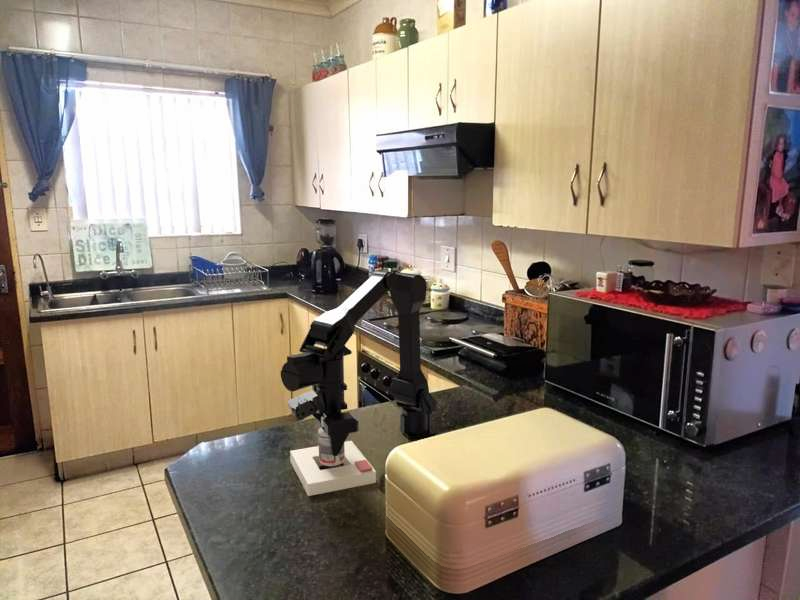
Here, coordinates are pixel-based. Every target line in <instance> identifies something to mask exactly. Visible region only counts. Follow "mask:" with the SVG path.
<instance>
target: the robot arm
mask: <svg viewBox="0 0 800 600" xmlns="http://www.w3.org/2000/svg"><path fill="white" fill-rule="evenodd" d="M427 287H428V286H427V281H426V278H425V277H424V276H423V275H421V274H416V273H408V272H407V273H406V272H396V273H394V272H393V271H390V270H383V269H382V270H381V269H377V270H375V271H372V273H371V274H370V277H369V278H368V279H367V280H366V281H365V282H363V284H362V285H360V286H359V287H358V288H357V289H356V290H355V291H354V292H353V293H352V294H351V295H350V296H349V297H347V299H345V300H344V302H342V304H340V305H339V306H338V307H335V308H334V309H331V310H328V311H325V312H323V313H322V314H321V315H319V316H318V317H316V318H315V319H314V320H313V321H312V322H311V323H310V325H309V330H308V333H307V334H306V336H305V338H304V340H303V342H302V344H301V346H300V348H299V352H300V353H299V354H290V355H287V357H286V362H285V363H283V365H282V367H281V371H280V378H281V382H282V384H283V386H284V387H285V389H286V390H287V391H289V392H296V391H299V390H303V389H307V388H309V387H312V389H311V390H308V391H306V392H303V393H301V394H299V395H296V396H295V397H292V398H290V399H289V400H288V401H287V404H288V407H289V409H290V411H291V413H292V415H293V416H294V419H295V420H296V422H300V421H303V420H305V419H306V418H309V417H310V416H312V417H314V418H315V419H316V420H317V421H318V423H319V428H320V427H321V426H322V425H321V417H322V416H324V415H325V417H326V418H325V419H324V420H323V426H324V427H321V428H322V429H323V431H324V432H325V433H326V434H327V435H328V436H329V439H330V444H331V449H332V454H333V456H338V455H339V453H340V451H341V449H342V447H343V444H344V442H346V441H347V438H348V436H349V435H350V434H351V433H357V432H359V429H360V428H359V423H360V422H359V420H358V419H357V418H356V417H355V416H354V415H353V414H352V413H350V411H347V412H343V411H344V410H348V403H346V401H345V391H348V385H347V383H346V382H345V367H344V366H345V365H344V364H345V363H344V362H345V361H344V359H345V358H344V357H345V356H348V355H351V354H352V353H353V352H352V350H351V349H349V348H348V347H347V346H346V345H347V343H348V342H349V340H350V339H351V338H352V336H353V334H354V333H355V328H356V324H357V323H358V321H360V320H361V319H362V318H363V317H364V316H365V315H366V314H367V313H368V311H370V310H371V309H372V308H373V307H374V306H375V305H376V304H377V303H378V302H379V301H380V300H381V299H382V298H383V297H384V296H385V295H386V294H387V293H388V292H389V295H390V300H391V302H392V303H393V306H394V308H395V309H396V311H397V319H398V321H397V323H398V345H399V346H398V348H399V349H398V350H399V353H398V354H399V371H398V372H397V375H396V376H395V377H392V378H391V380H390V381H391V382H390V383H391V392H390V393H391V394H392V395H393V399H394V400H395V403H396V406H397V407H398V408H401V412H402V413H401V414H400V417H399V420H400V423H399V428H398V429H399V431H401V432H402V433H403V434H404V435H405V436H406V437H407V438H408V439H416V438H421V437H425V436H426V437H427V436H431V435H432V436H433V435H434V431H432V430H431V414H433V412H434V411H436V409H437V405H438V404H437V403H438V401H437V400H436V398H435V397H434V396H433V395H432V394H431V393H430V388H429V383H428V379H427V378H426V376H425V374H424V372H423V371H422V365H421V364H422V363H421V362H422V361H421V359H422V358H421V333H420V332H421V329H420V327H421V326H420V325H421V324H420V310H421V309H422V307H423V305H424V303H425V302H426V299H427ZM316 345H318V346H316ZM319 346H321V347H319ZM324 347H326V348H324ZM342 410H343V411H342Z"/></svg>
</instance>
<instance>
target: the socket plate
mask: <svg viewBox="0 0 800 600" xmlns="http://www.w3.org/2000/svg"><path fill="white" fill-rule="evenodd" d="M344 451H345V460H344V462H343V463H342V466H334V467H331V468H326V469H320V467H324V466H325V465H322V464H321V463H320V461H319V445H317V446H311V447H306V448H305V447H304V448H299V449H298V448H297V449H294V450H289V455H290V456H289V461H290V463H291V464H290V465H292V467H293V470H294V471H295V473H296V476H297V477H298V479H299V481H300V483H301V485H302V487H303V489H304V491H305V493H306V495H307V496H308V497H310V496H315V495H321V494H325V493H332V492H336V491H340V490H341V491H342V490H346V489H351V488H357V487H362V486H366V485H371V484H376V483H377V471H376V470H375V468H374V467H373V465H372V464H371V463H370V462H369V461H368V459H367V458H366V456H365V455H363V453H362V452H361V450H360V449H359V448H358V447H357V446H356V444H355V443H354V442H353V441H352V440H345V442H344ZM325 467H326V466H325Z"/></svg>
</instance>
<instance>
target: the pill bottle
mask: <svg viewBox="0 0 800 600" xmlns="http://www.w3.org/2000/svg"><path fill="white" fill-rule="evenodd" d="M325 418H326V417H325V415H324V416H322V417H321V425H322V426H321V427H324V426H323V420H324V419H325ZM321 427H320V426H319V428H318V430H317V431H318V432H317V435H318V437H317V439H318V446H319V461H320V463H321V464H322V465H325V467H338V466H340V465H342V464H343V462H344V460H345V451H344V444H343V447H342V449H341V451H340V453H339V455H338V456H333V454H332V449H331V444H330V439H329V436H328V435H327V434H326V433H325V432H324V431H323V429H322V428H321Z"/></svg>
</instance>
